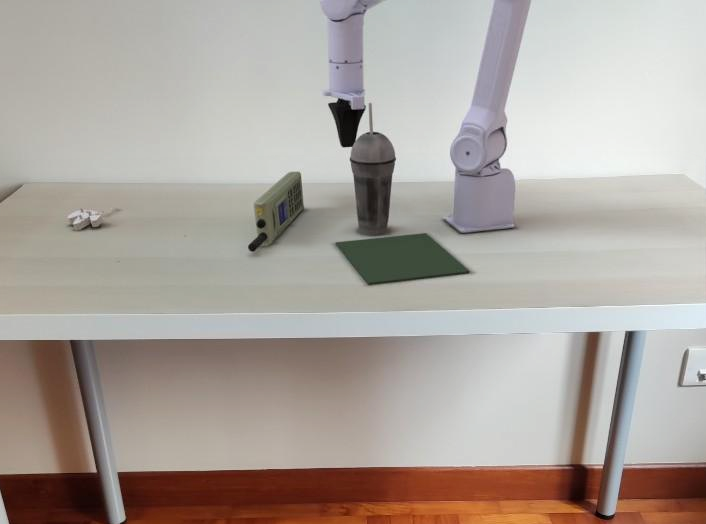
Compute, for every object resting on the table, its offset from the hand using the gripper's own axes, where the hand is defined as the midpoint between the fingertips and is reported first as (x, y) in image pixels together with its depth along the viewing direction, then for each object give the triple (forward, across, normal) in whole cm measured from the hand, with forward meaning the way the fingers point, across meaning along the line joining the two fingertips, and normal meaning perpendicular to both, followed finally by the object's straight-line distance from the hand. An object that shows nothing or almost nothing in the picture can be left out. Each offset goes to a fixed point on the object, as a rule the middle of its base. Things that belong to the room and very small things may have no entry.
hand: (347, 146), depth 140 cm
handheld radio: (+11, +10, -15) cm, 21 cm away
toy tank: (+11, -5, -43) cm, 45 cm away
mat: (+10, +28, 0) cm, 30 cm away
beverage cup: (+11, +15, 0) cm, 18 cm away
